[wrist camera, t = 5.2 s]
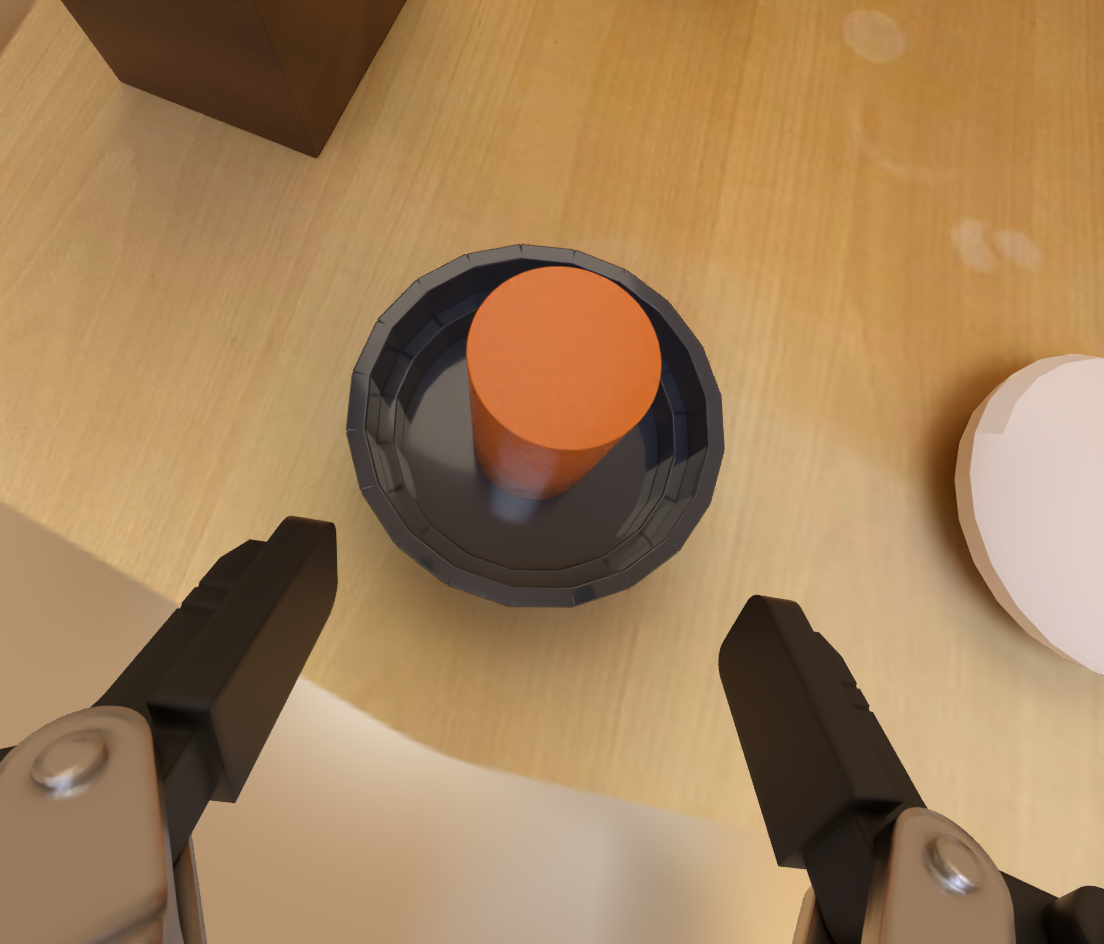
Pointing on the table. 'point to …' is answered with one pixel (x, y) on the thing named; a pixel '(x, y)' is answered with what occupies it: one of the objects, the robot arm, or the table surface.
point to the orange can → (556, 377)
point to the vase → (1041, 501)
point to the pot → (481, 507)
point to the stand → (244, 57)
